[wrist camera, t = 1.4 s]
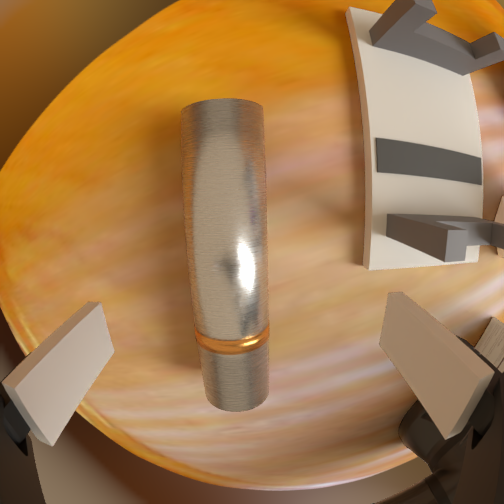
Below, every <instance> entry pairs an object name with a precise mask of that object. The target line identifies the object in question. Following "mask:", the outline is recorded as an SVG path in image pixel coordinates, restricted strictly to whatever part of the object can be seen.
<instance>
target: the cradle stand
mask: <svg viewBox="0 0 504 504" xmlns="http://www.w3.org/2000/svg"><path fill="white" fill-rule="evenodd" d="M436 13H437V11H436V9H435V6H434V4H433V2H432V0H395V1H394V2H393V3H392V5H391V6H390V7H389V8H388V9H387V10H386V11H385V13H384V14H379V13H375V12H371V11H367V10H363V9H359V8H354V7H349V8H348V10H347V11H346V13H345V15H346V20H347V24H348V29H349V33H350V38H351V43H352V49H353V54H354V60H355V66H356V73H357V80H358V87H359V95H360V104H361V114H362V125H363V139H364V158H365V233H364V253H363V266H364V267H365V268H366V269H368V270H383V269H397V268H411V267H424V266H437V265H449V264H460V263H471V262H478V257H479V249H480V245H492V246H495V247H498V248H501V249H503V250H504V224H502V223H498V222H494V221H490V220H486V219H482V216H483V159H482V145H481V135H480V127H479V119H478V113H477V107H476V101H475V96H474V91H473V87H472V82H471V78H470V74H469V73H471V72H474V71H476V70H479V69H482V68H484V67H487V66H490V65H492V64H495V63H498V62H501V61H504V39H503V38H502V37H501V36H499V35H498V34H496V33H495V32H493V33H490V34H488V35H486V36H484V37H482V38H480V39H478V40H476V41H474V42H472V43H469V42H467V41H465V40H463V39H461V38H459V37H457V36H455V35H453V34H451V33H449V32H447V31H445V30H443V29H440V28H438V27H436V26H433V25H431V24H429V23H426V21H427V20H429V19H430V18H431V17H433V16H434V15H435V14H436Z"/></svg>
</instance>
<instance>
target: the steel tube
mask: <svg viewBox="0 0 504 504" xmlns="http://www.w3.org/2000/svg"><path fill="white" fill-rule="evenodd" d="M181 157H182V186H183V206H184V222H185V236H186V249H187V260H188V271H189V280H190V290H191V299H192V307H193V315H194V323H195V324H194V327H195V335H196V340H197V344H198V351H199V357H200V364H201V370H202V376H203V382H204V387H205V393H206V397H207V399H208V401H209V402H210V403H211V404H212V405H214V406H215V407H217V408H219V409H222V410H225V411H231V412H241V411H247V410H250V409H253V408H255V407H257V406H259V405H260V404H262V403H263V402H264V401H265V400H266V398H267V396H268V393H269V312H268V246H267V203H266V169H265V140H264V115H263V107H262V106H261V105H260V104H258V103H255V102H252V101H248V100H242V99H212V100H205V101H200V102H196V103H193V104H191V105H188V106H186V107H185V108H184V109H183V110H182V111H181Z"/></svg>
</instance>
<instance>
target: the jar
mask: <svg viewBox="0 0 504 504" xmlns="http://www.w3.org/2000/svg"><path fill="white" fill-rule="evenodd" d="M494 222H498V223H502V224H504V195H503V196H502V198H501V202H500V205H499V208H498V211H497V214H496V217H495V220H494ZM497 252H498V256H499V257H502V258H504V250H503V249H501V248H498V247H497Z"/></svg>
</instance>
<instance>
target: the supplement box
mask: <svg viewBox="0 0 504 504" xmlns="http://www.w3.org/2000/svg"><path fill="white" fill-rule="evenodd" d="M474 349H476V350H477V351H479V352H480V354H482V355H483V356H484V357H485V358H486V359H487V360H489V361H490V362H491V363H492V364H493V365H494V366H495V367H496V368H497V369H498V370H499V371H500V372H501V373H503V372H504V323H502V322H501V321H499V320H498V319H496V318H495V317H493V318H492V319H491V321H490V323H489V325H488V327H487V328H486V330H485V332H484V333H483V335H482V337H481V338H480V340H479V342H478V343H477V345H476V346H475V348H474Z"/></svg>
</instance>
